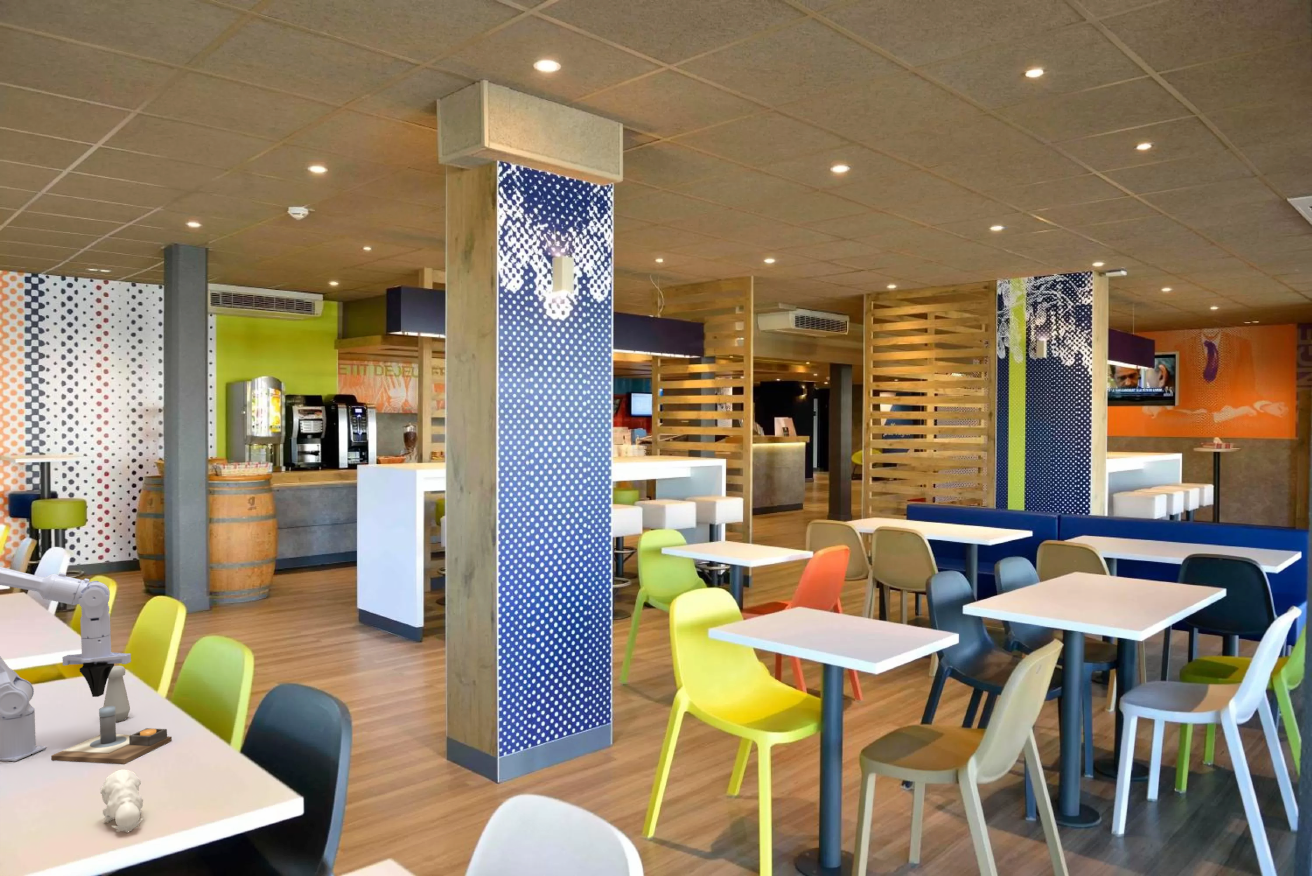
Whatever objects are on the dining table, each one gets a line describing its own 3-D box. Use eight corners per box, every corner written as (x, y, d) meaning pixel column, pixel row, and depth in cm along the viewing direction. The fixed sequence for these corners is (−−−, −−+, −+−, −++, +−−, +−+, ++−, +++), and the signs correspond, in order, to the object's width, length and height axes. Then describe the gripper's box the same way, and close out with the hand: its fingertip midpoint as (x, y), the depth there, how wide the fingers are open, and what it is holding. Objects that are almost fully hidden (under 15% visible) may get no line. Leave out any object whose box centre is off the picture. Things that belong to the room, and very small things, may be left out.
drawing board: (51, 760, 195) (50, 746, 195) (102, 737, 208) (102, 724, 208) (124, 764, 191) (123, 749, 191) (171, 741, 205) (171, 727, 205)
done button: (136, 742, 201) (136, 733, 201) (147, 737, 204) (147, 728, 204) (149, 742, 200) (149, 733, 200) (159, 737, 203) (159, 729, 203)
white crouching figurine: (138, 762, 168) (149, 787, 158) (139, 806, 168) (150, 834, 159) (99, 770, 164) (107, 797, 154) (100, 816, 165) (108, 845, 155)
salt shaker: (117, 724, 218) (115, 670, 218) (96, 723, 219) (95, 669, 219) (135, 716, 224) (134, 664, 224) (115, 715, 225) (114, 663, 225)
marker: (96, 743, 201) (95, 710, 200) (107, 739, 204) (106, 705, 204) (109, 744, 200) (107, 710, 200) (119, 739, 203) (118, 706, 203)
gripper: (52, 640, 202) (54, 701, 202) (116, 639, 202) (118, 700, 202) (73, 633, 209) (75, 692, 209) (135, 632, 209) (137, 690, 209)
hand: (98, 695), depth 206 cm, fingers closed
